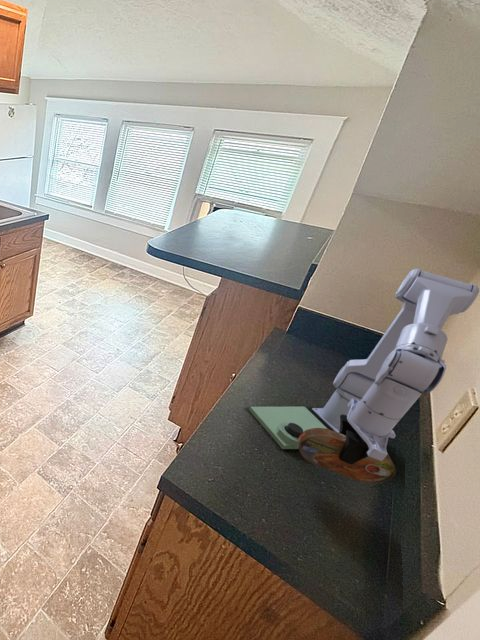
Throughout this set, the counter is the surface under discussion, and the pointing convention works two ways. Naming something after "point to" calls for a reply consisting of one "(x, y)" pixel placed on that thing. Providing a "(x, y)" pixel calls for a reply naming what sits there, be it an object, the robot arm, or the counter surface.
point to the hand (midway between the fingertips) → (343, 455)
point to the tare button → (294, 430)
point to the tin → (325, 453)
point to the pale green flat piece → (285, 422)
